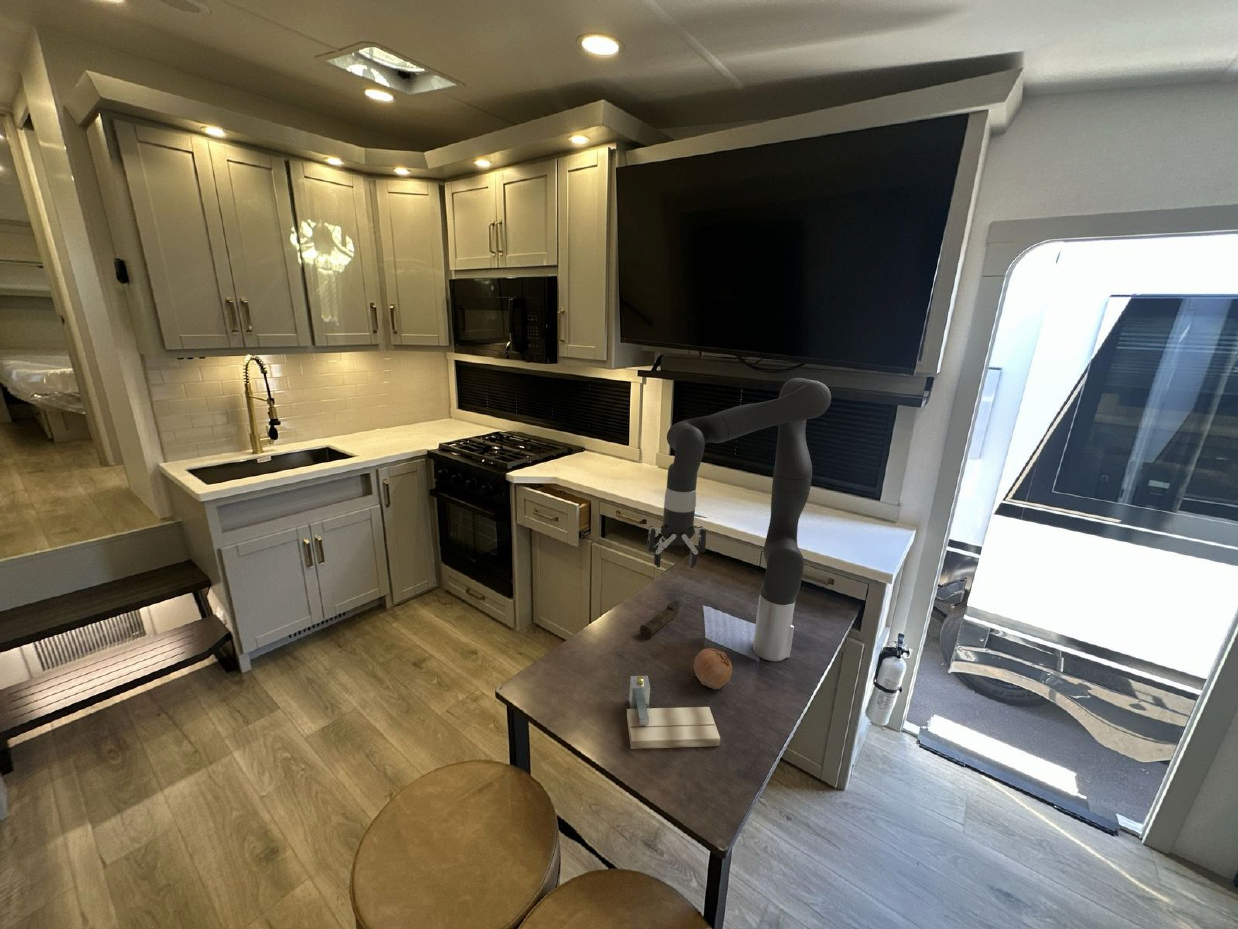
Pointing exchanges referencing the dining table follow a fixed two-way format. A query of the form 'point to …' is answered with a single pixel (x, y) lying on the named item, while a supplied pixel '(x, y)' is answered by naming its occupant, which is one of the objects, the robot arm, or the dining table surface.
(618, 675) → the dining table surface
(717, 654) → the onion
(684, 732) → the board
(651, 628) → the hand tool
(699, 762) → the dining table surface
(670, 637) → the dining table surface
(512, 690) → the dining table surface
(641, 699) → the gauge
